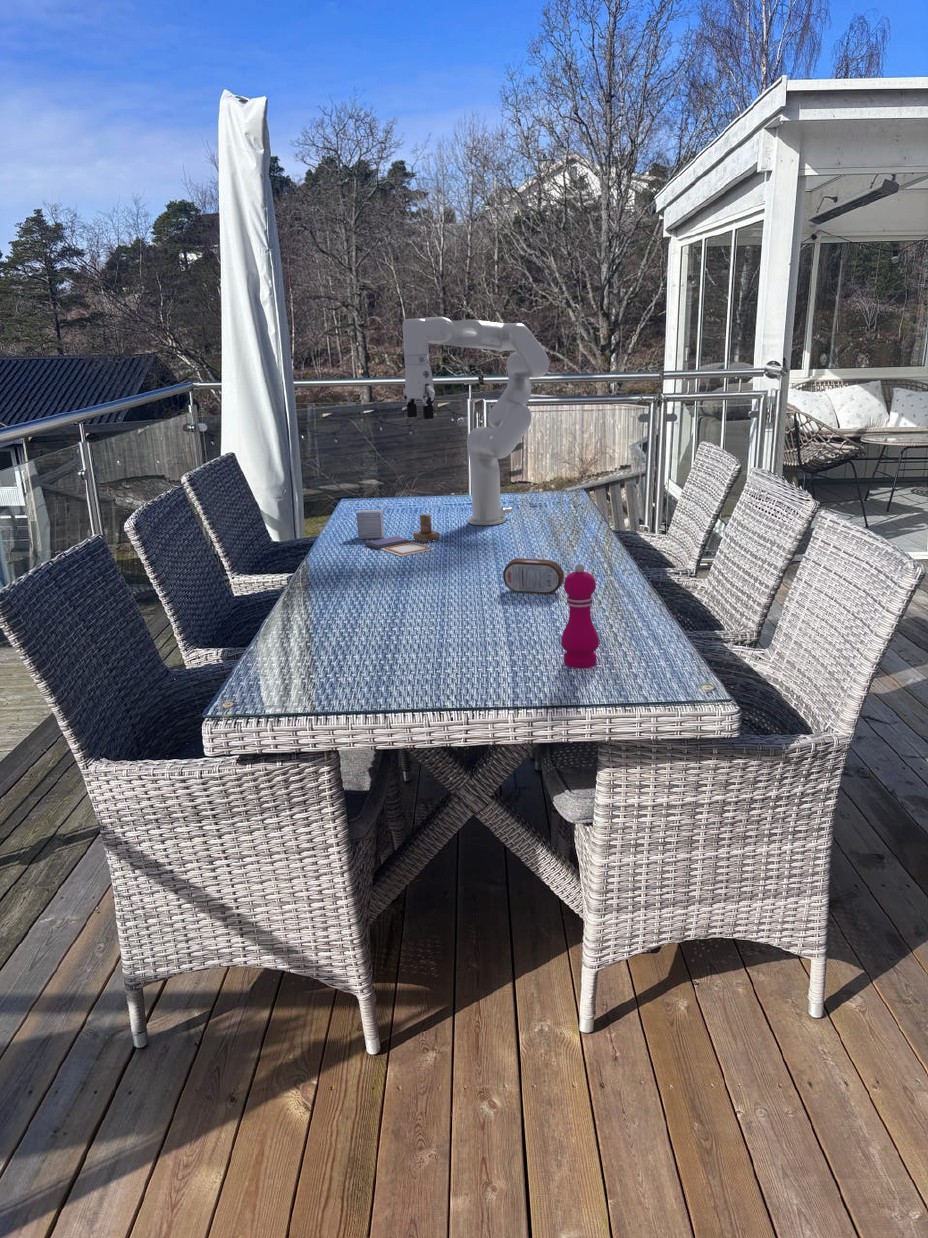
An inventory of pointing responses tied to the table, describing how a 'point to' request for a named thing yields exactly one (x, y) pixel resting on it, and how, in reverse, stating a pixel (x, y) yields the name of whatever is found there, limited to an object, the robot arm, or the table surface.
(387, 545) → the ink pad
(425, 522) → the stamp
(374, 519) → the medicine box
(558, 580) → the tin
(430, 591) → the table surface
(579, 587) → the pepper mill
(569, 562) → the table surface
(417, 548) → the cream card
